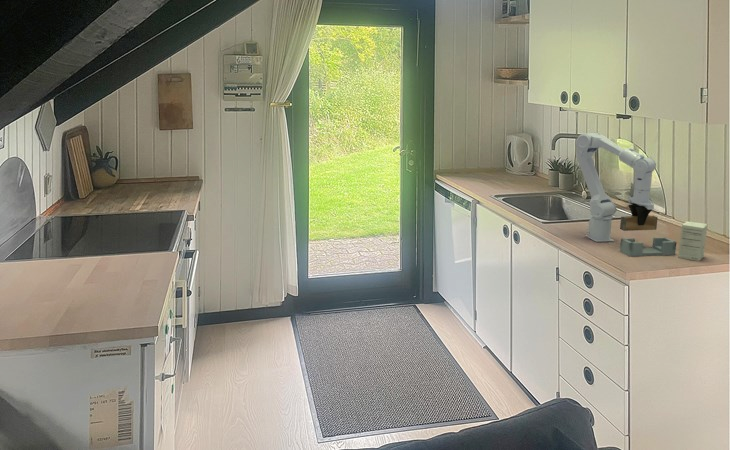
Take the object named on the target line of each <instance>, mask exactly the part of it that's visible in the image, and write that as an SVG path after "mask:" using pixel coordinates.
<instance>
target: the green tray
mask: <svg viewBox="0 0 730 450" xmlns="http://www.w3.org/2000/svg"><path fill="white" fill-rule="evenodd" d="M676 248H677V241H676V240H673V239H671V238H668V237H666V236H665V237H663V236H662V237H660V236H659V237H653V238H652V247H644V242H642V241H639V242H638V241H637V242H636V238H633V237H631V238H630V237H627V238H624V237H623V238H620V246H619V252H620V253H622V254H624V255H626V256H628V257H648V256H649V257H651V256H676V251H677V250H676Z"/></svg>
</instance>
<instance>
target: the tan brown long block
mask: <svg viewBox="0 0 730 450" xmlns="http://www.w3.org/2000/svg"><path fill="white" fill-rule="evenodd" d="M657 227H658V216H656V215H648V216H647V219H646V221H645V224H644V225H638V216H632V215H625V216H623V215H621V216H620V225H619V230H622V231H624V232H625V231H626V232H628V231H629V232H630V231H631V232H632V231H653V230H655V231H656V230H657Z"/></svg>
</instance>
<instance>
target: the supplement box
mask: <svg viewBox="0 0 730 450" xmlns="http://www.w3.org/2000/svg"><path fill="white" fill-rule="evenodd" d="M708 225H709V224H708V223H702V222H695V221H694V222H693V221H685V222H684V223H683V224H682V225H681V232H680V241H679V249H678V259H679V258H680V259H684V260H689V261H697V262H700V261H701V260H702V259H703V258H704V256H705V248H706V242H707V240H706V239H707V232H708Z"/></svg>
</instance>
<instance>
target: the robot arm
mask: <svg viewBox="0 0 730 450" xmlns="http://www.w3.org/2000/svg"><path fill="white" fill-rule="evenodd" d="M575 146H576V160H577V162H578V165H579V168H580V170H581V173H582V177H583V178H584V181H585V184H586V186H587V187H586V188H587V189H588V192H589V195H590V197H591V198H590V201H589V202H588V203H589V208H590V209H589V212H590V215H591V216H592V217H590V219H589V221H588V226H587V227H588V229H587V234H585V237H587V238H588V239H590V240H592V241H594V242H595V243H596V242H597V243H600V242H615V239H613V238H611V233H612V221H613V215H615V214H616V211H617V205H616V204H615V203H614V201H613V200H612V199H611V196H610V195H608V194H607V193H606V192H605V189H604V187H603V184H602V182H601V179H600V176H599V173H598V170H597V169H596V165H595V163H594V160H593V156H594V154H595V153H596V151H598V149H600V148H601V149H604V150H606V151H608V152H609V153H611V154H613V155H615V156H617V157H618V160H619V162H622V163H623V164H625V165H627V166H629V167H630V168H632V169H633V170H634V173H635V175H634V185H633V186H634V187H633V196H632V197H631V196H630V197H628V198H627V199H628V203H631V204H628V208H629V210H630V213H631V216H638V225H644V224H645V221H646V219H647V216H650V213H651V212H652V211H653V210H654V205H655V204H653V202H652V200H650V196H651V187H652V178H653V172H654V171H655V169H656V166H657V163H656V161H655V159H654V158H652V157H651V156H648V157H645V154H641V153H638V152H637V151H636V150H635V148H633V147H627V148H626V147H625V148H623V147H622V146H620V145H619V144H617V143H615V142H614V141H612V140H611V139H609V138H608V137H606V136H605V135H604V134H601V133H600V132H591V133H581V134H579V136H577V138H576V141H575Z"/></svg>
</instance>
